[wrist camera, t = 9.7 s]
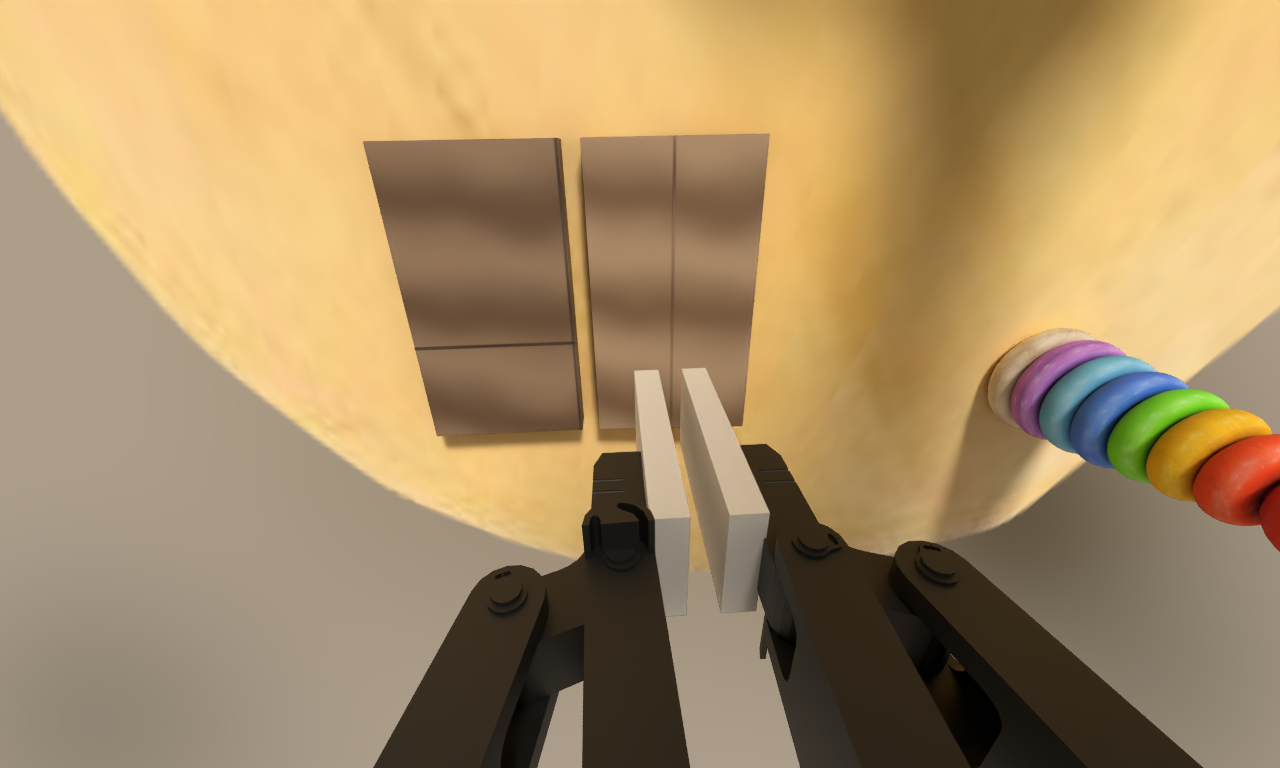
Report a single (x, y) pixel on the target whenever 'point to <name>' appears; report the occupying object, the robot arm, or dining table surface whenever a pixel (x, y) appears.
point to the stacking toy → (1141, 425)
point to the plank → (672, 263)
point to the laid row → (484, 279)
